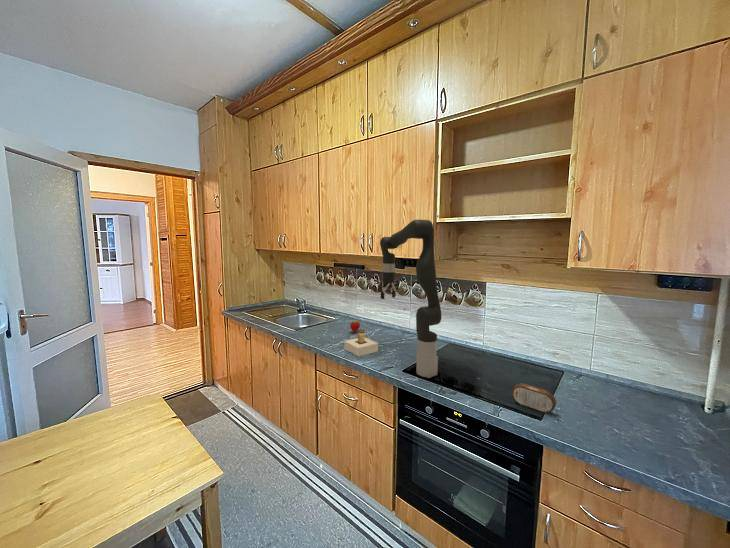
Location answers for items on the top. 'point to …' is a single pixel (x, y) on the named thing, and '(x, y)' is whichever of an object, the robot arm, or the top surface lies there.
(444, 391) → the top surface
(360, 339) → the peg
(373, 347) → the socket block
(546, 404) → the brown rounded slab
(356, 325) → the strawberry
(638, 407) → the top surface
